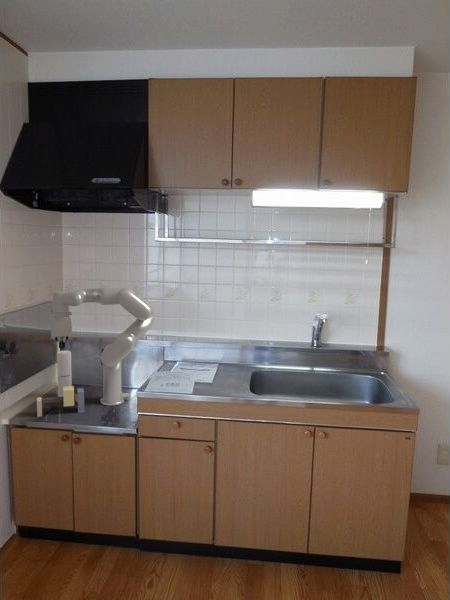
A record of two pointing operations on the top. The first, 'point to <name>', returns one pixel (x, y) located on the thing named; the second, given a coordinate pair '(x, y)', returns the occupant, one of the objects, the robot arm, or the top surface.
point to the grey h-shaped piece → (78, 398)
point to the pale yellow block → (68, 395)
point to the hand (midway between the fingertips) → (61, 349)
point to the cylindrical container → (64, 370)
